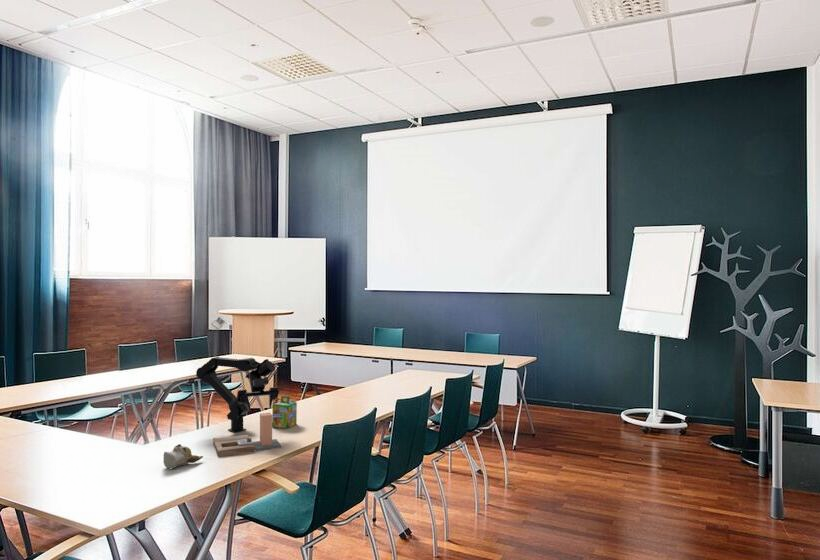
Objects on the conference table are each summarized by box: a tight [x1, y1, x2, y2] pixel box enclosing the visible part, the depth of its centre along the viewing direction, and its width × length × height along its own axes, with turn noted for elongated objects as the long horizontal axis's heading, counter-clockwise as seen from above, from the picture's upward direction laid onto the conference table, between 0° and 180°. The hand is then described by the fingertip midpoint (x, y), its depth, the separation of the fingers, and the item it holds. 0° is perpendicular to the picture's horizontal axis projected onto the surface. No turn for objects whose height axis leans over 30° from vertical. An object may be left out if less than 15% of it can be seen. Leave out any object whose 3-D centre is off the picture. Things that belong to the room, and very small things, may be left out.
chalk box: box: [271, 395, 298, 430], centre depth 288 cm, size 9×9×15 cm
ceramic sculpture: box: [162, 443, 204, 470], centre depth 229 cm, size 11×9×15 cm
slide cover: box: [236, 437, 254, 446], centre depth 250 cm, size 8×6×2 cm
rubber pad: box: [252, 438, 282, 452], centre depth 254 cm, size 11×11×1 cm
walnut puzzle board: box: [212, 434, 256, 458], centre depth 251 cm, size 20×15×2 cm
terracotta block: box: [259, 412, 273, 446], centre depth 254 cm, size 4×4×13 cm
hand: (260, 409), depth 265 cm, fingers open, 9 cm apart
